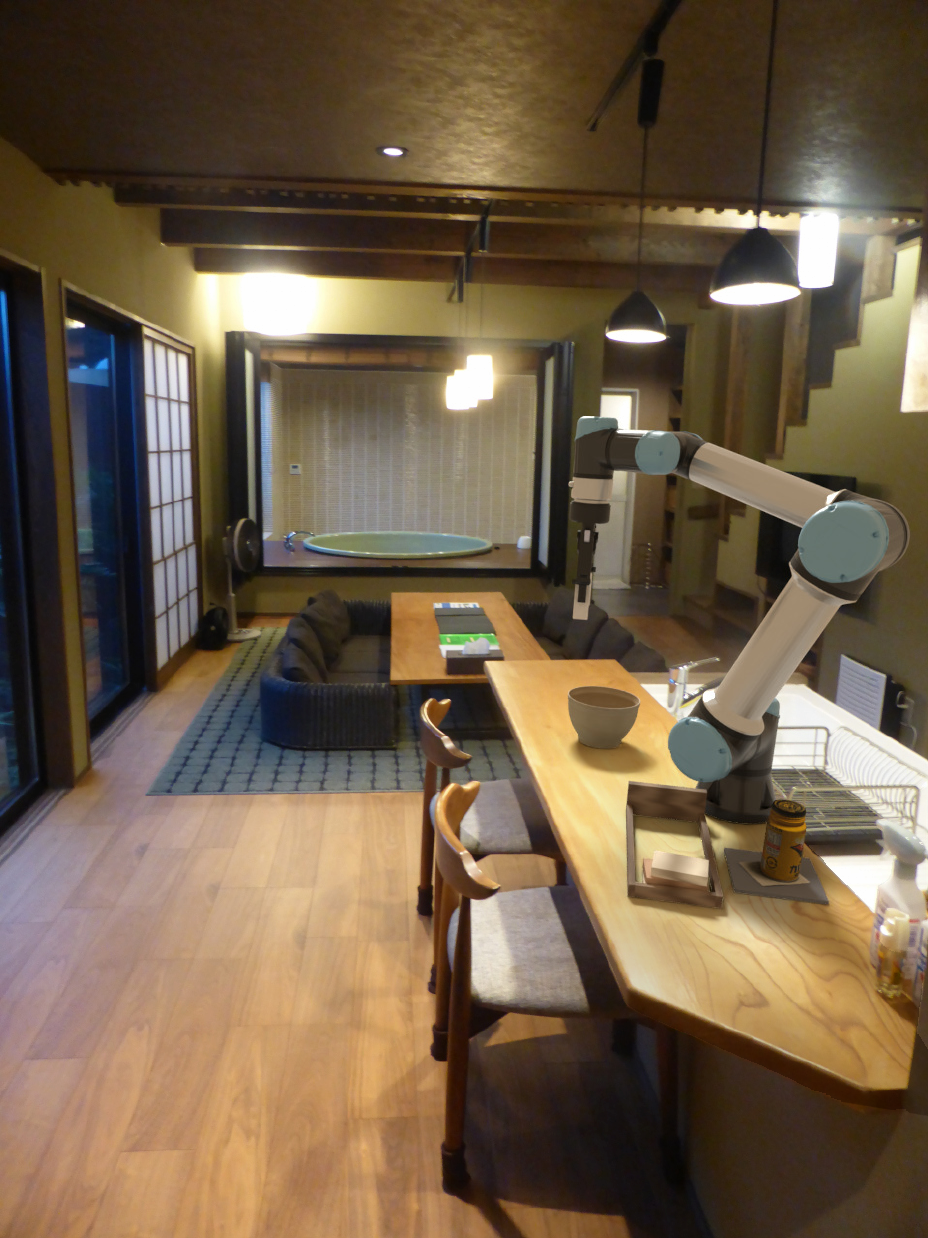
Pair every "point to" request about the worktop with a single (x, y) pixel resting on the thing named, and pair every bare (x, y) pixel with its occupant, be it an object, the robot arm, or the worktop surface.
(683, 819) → the tray
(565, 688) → the worktop surface
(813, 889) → the slate mat
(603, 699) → the planter bowl
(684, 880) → the offcut stack
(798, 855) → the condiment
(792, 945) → the worktop surface
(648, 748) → the worktop surface
